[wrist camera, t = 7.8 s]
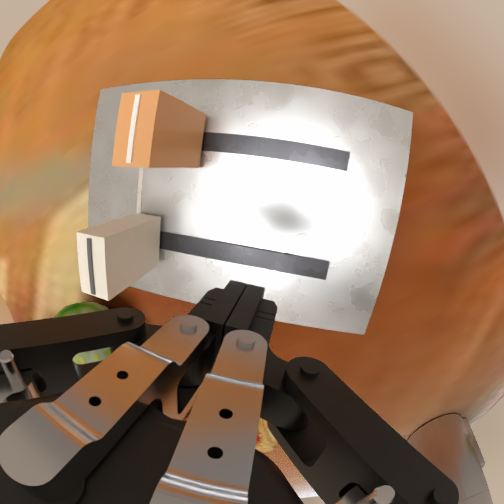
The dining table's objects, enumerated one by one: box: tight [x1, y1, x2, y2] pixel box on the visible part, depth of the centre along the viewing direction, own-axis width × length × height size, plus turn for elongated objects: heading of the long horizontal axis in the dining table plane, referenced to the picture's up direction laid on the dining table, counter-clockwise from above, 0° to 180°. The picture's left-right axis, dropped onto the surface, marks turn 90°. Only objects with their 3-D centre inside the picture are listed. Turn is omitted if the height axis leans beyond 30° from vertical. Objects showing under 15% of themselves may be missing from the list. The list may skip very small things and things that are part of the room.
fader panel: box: [89, 79, 413, 335], centre depth 20 cm, size 26×18×2 cm
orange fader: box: [112, 90, 206, 168], centre depth 15 cm, size 2×4×7 cm, turn 172°
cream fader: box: [77, 213, 161, 301], centre depth 18 cm, size 2×4×7 cm, turn 172°
